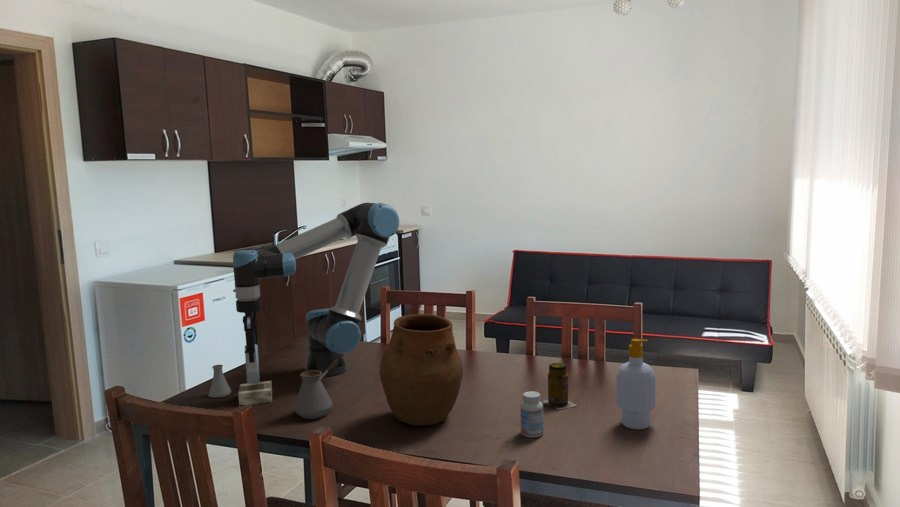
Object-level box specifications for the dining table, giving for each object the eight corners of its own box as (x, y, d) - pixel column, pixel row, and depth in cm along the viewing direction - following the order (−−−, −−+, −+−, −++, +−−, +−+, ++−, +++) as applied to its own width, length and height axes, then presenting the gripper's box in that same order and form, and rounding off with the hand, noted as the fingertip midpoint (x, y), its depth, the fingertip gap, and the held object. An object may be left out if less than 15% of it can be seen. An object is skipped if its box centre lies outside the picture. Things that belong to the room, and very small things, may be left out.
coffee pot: (314, 424, 188) (311, 374, 186) (286, 417, 194) (282, 369, 192) (361, 400, 206) (358, 354, 204) (333, 395, 212) (330, 350, 210)
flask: (224, 398, 213) (221, 369, 211) (204, 398, 214) (201, 368, 213) (235, 391, 220) (233, 362, 218) (216, 390, 221) (213, 362, 220)
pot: (434, 443, 172) (430, 333, 168) (364, 427, 185) (358, 324, 181) (479, 412, 192) (476, 313, 188) (413, 399, 205) (408, 307, 201)
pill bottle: (519, 430, 178) (518, 390, 177) (540, 428, 179) (540, 389, 177) (523, 439, 172) (522, 398, 171) (546, 437, 173) (545, 397, 171)
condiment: (561, 397, 202) (560, 360, 200) (577, 406, 195) (577, 367, 193) (541, 401, 199) (540, 364, 197) (557, 410, 191) (557, 371, 190)
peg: (260, 379, 213) (257, 343, 211) (259, 382, 209) (257, 346, 207) (247, 380, 212) (244, 344, 210) (246, 384, 208) (244, 347, 206)
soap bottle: (658, 433, 173) (658, 345, 170) (618, 431, 175) (617, 344, 171) (652, 418, 183) (653, 335, 180) (615, 417, 185) (615, 334, 182)
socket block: (272, 392, 217) (271, 380, 217) (271, 402, 208) (270, 390, 207) (241, 395, 215) (240, 384, 214) (239, 406, 205) (238, 394, 205)
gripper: (237, 294, 214) (242, 363, 217) (233, 304, 198) (239, 378, 201) (261, 293, 216) (265, 361, 219) (259, 302, 200) (264, 376, 203)
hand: (252, 369), depth 210 cm, fingers closed on peg, 4 cm apart
